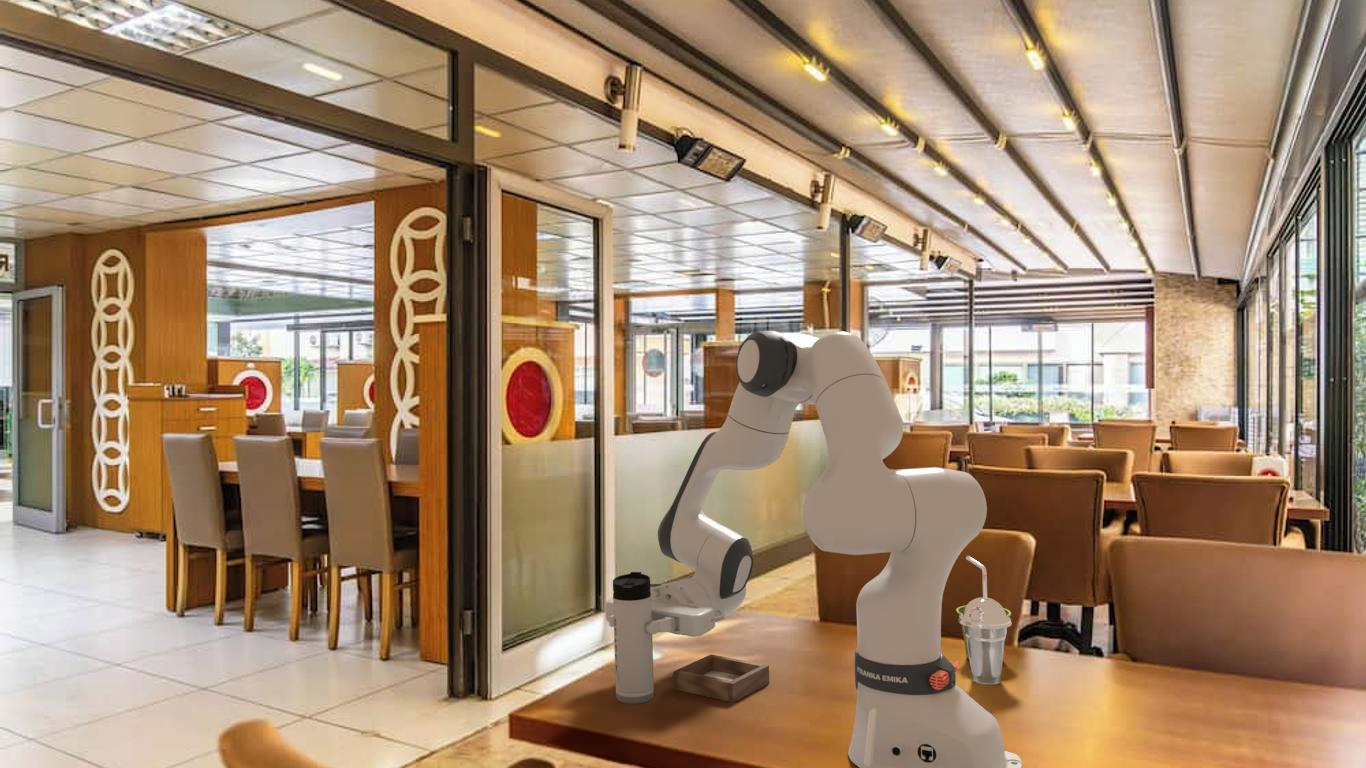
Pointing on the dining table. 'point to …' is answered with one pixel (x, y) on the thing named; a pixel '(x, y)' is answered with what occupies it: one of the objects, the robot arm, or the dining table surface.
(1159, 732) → the dining table surface
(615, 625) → the travel mug
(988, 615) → the cup with straw
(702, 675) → the open wooden tray
